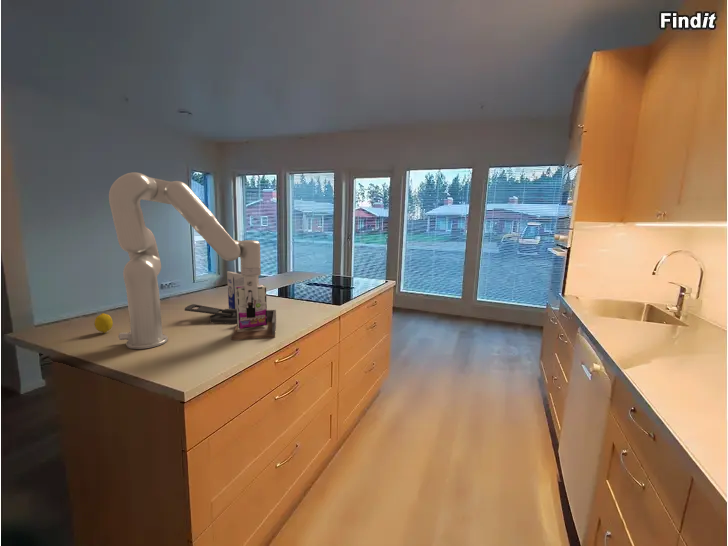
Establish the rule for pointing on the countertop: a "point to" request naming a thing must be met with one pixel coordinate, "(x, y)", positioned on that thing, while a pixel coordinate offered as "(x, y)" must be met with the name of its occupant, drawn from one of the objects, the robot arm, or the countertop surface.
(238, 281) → the milk carton
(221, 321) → the dark grey spatula
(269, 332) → the brown square tray
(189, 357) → the countertop surface
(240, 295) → the candy bar box
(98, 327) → the lemon
